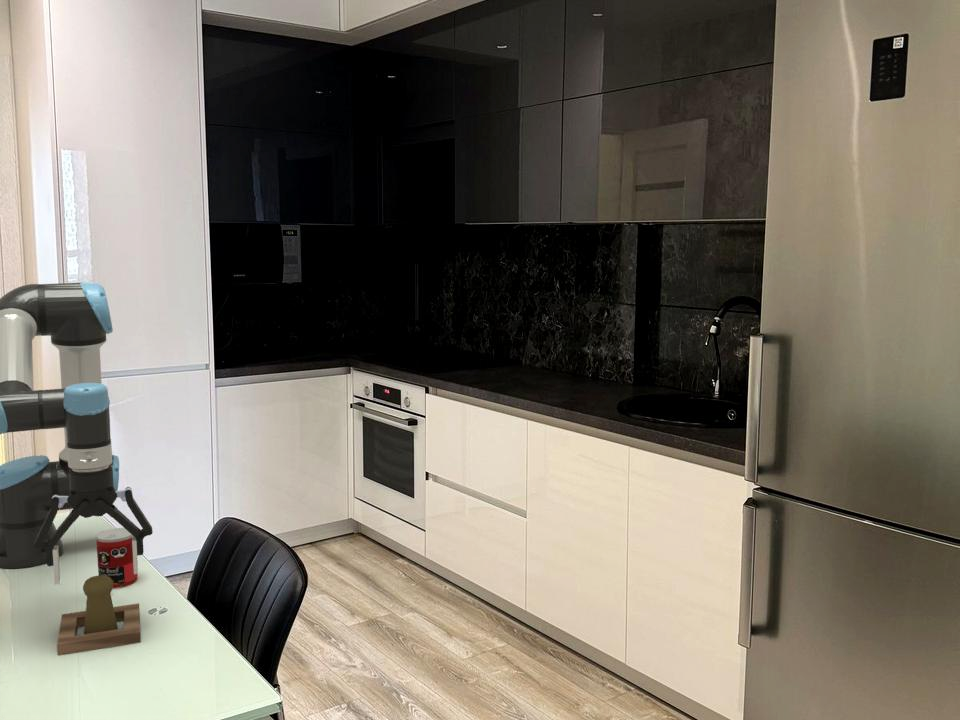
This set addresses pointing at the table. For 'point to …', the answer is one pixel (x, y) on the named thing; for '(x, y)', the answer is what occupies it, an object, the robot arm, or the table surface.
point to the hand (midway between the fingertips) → (97, 576)
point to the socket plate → (79, 643)
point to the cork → (99, 605)
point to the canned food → (116, 556)
